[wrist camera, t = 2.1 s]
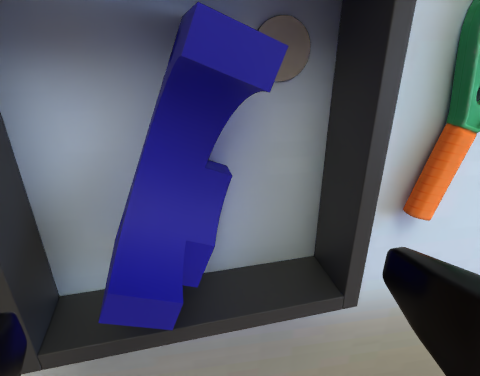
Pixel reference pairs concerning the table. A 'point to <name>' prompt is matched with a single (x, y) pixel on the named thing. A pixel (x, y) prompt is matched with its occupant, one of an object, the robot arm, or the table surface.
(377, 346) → the table surface
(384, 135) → the dark grey square tray
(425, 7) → the table surface
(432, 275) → the robot arm
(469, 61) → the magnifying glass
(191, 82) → the blue u-shaped bracket
